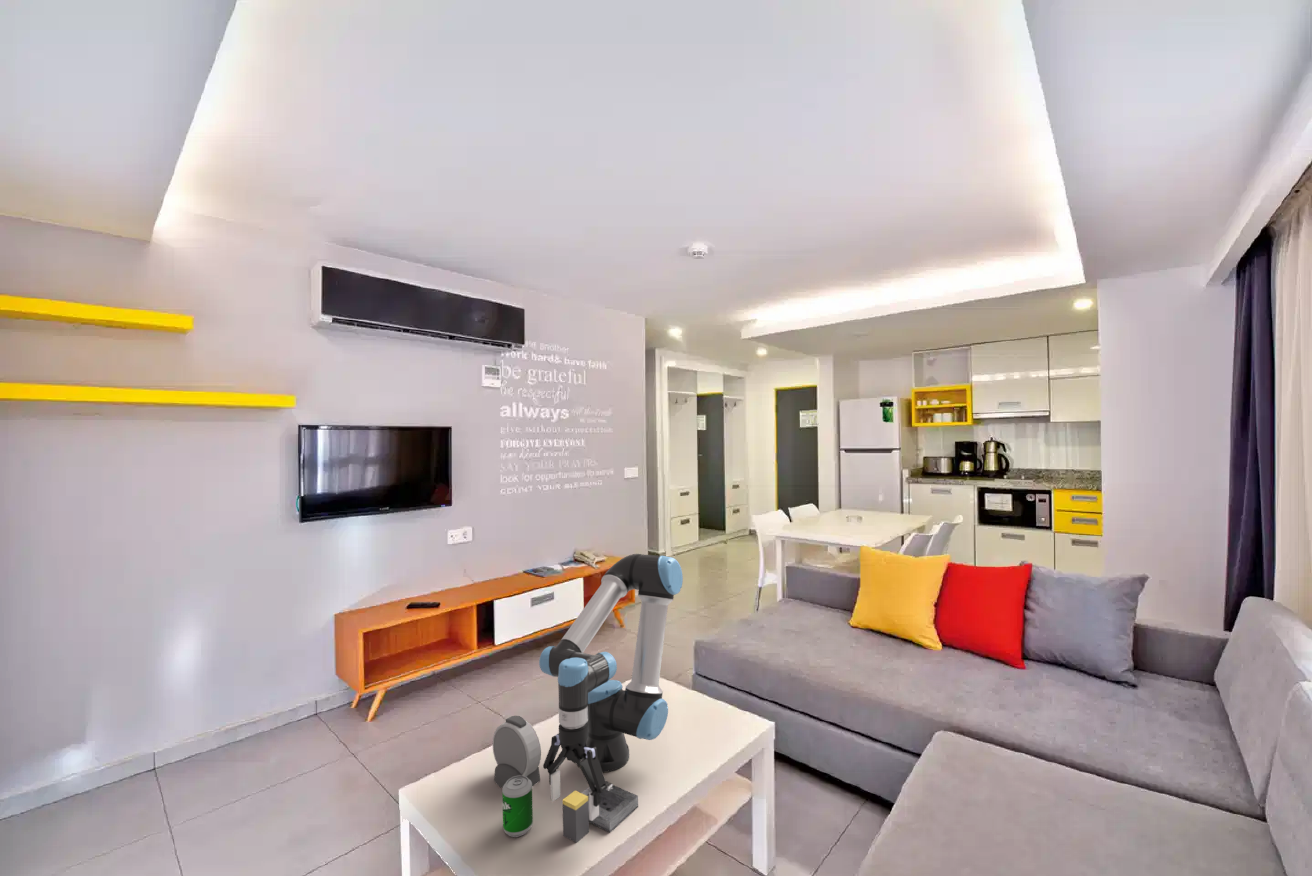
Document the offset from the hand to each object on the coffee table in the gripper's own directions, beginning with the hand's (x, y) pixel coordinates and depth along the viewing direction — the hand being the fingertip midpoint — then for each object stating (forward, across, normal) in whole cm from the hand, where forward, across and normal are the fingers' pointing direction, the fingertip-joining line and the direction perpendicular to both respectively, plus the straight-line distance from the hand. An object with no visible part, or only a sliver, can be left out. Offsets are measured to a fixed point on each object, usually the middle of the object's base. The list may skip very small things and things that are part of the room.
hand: (574, 808), depth 138 cm
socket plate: (+7, 0, +12) cm, 13 cm away
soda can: (+7, -14, -6) cm, 17 cm away
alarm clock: (+7, -31, +8) cm, 33 cm away
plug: (+7, 0, +1) cm, 7 cm away
